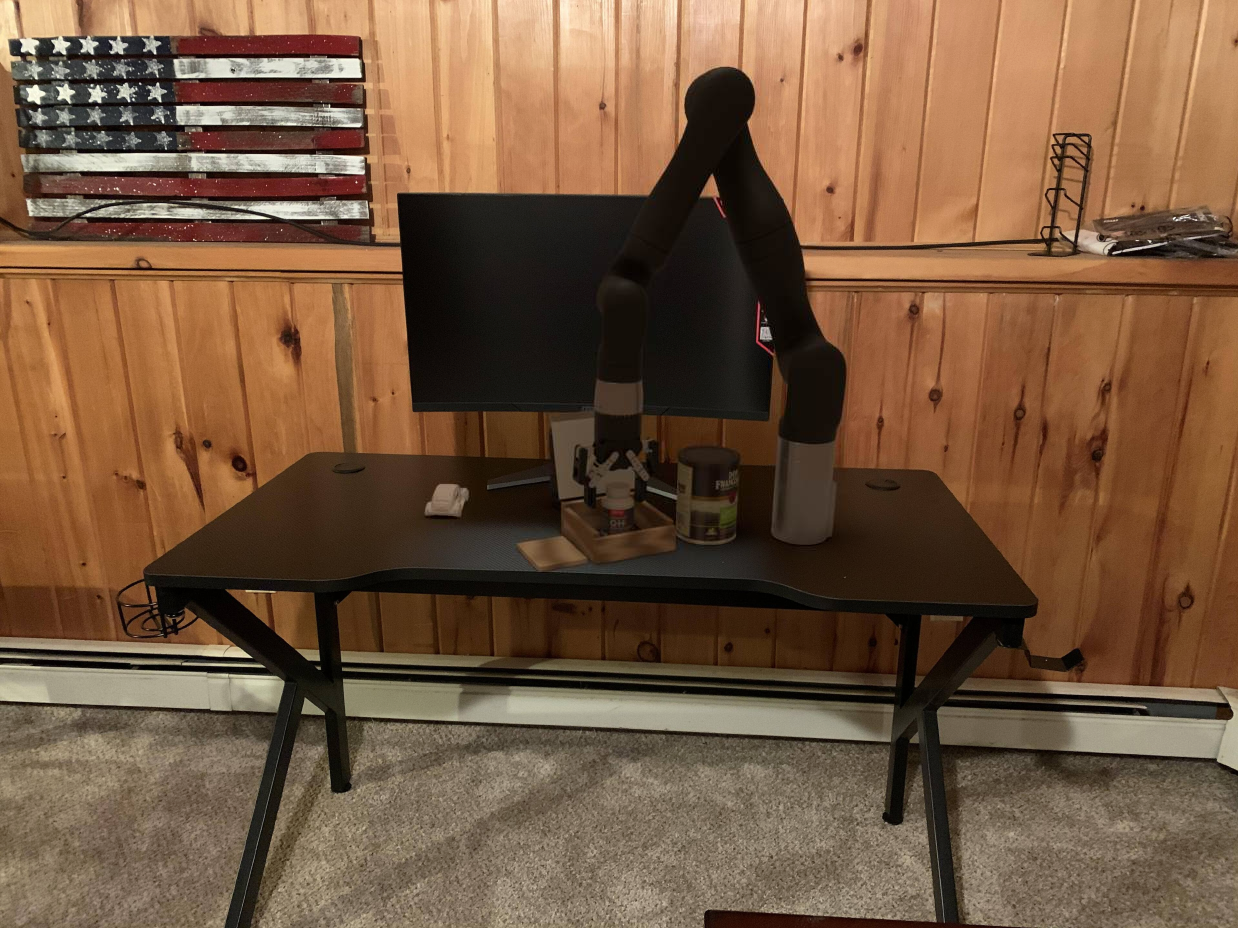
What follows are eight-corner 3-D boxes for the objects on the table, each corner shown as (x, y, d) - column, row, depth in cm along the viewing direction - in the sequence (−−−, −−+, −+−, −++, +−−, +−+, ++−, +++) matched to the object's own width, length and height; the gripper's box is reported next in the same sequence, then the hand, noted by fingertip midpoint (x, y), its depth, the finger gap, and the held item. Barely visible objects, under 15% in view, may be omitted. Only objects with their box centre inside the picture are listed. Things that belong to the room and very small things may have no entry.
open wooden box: (636, 520, 160) (636, 491, 158) (675, 549, 148) (676, 518, 146) (561, 532, 154) (561, 502, 152) (596, 564, 142) (596, 531, 140)
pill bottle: (611, 550, 147) (612, 492, 144) (594, 539, 152) (595, 482, 149) (639, 543, 150) (641, 487, 147) (622, 532, 154) (623, 477, 151)
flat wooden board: (562, 540, 151) (562, 535, 151) (587, 563, 142) (587, 558, 142) (516, 548, 148) (516, 543, 147) (539, 572, 139) (539, 567, 139)
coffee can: (748, 533, 155) (753, 453, 151) (712, 550, 148) (717, 467, 143) (698, 517, 162) (702, 440, 157) (662, 534, 154) (664, 453, 150)
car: (458, 521, 159) (457, 496, 158) (423, 520, 159) (421, 495, 158) (472, 497, 171) (471, 474, 169) (439, 496, 171) (438, 473, 169)
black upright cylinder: (540, 507, 166) (539, 426, 161) (564, 493, 172) (563, 416, 168) (579, 515, 162) (579, 433, 157) (602, 501, 169) (602, 422, 164)
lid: (635, 488, 158) (633, 487, 159) (627, 406, 157) (625, 407, 158) (560, 499, 152) (558, 498, 153) (551, 415, 151) (549, 415, 152)
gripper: (586, 416, 138) (584, 517, 143) (670, 409, 144) (665, 506, 149) (567, 405, 144) (565, 502, 149) (647, 398, 150) (643, 491, 155)
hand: (615, 504), depth 149 cm, fingers open, 8 cm apart
